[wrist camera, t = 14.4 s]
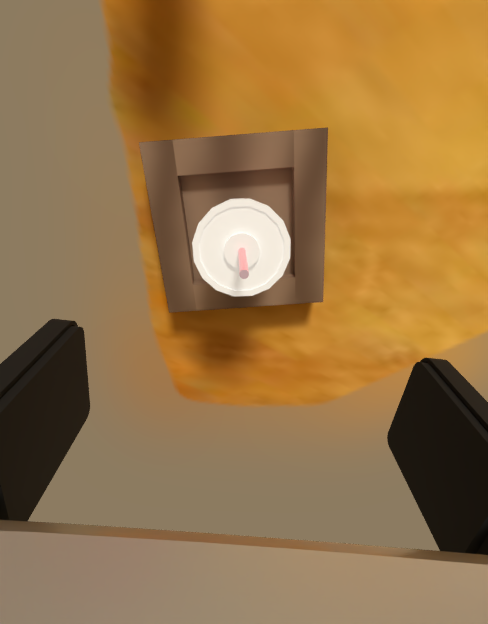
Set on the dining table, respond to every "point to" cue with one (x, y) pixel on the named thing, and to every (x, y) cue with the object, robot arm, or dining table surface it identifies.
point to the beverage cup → (241, 247)
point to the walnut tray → (234, 185)
